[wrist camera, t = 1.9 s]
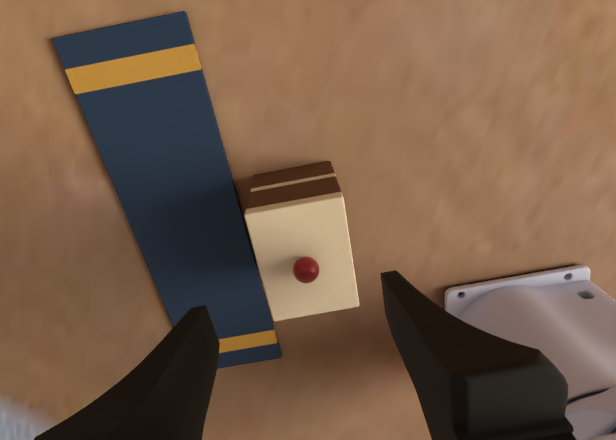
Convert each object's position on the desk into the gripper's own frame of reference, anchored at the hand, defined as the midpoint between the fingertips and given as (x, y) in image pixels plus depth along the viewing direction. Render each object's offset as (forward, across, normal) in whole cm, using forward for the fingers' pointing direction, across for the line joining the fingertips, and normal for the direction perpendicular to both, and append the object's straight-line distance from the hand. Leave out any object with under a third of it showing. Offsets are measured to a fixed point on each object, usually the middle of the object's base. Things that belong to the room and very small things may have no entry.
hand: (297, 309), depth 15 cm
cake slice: (+8, 0, 0) cm, 8 cm away
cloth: (+8, +6, -1) cm, 10 cm away
